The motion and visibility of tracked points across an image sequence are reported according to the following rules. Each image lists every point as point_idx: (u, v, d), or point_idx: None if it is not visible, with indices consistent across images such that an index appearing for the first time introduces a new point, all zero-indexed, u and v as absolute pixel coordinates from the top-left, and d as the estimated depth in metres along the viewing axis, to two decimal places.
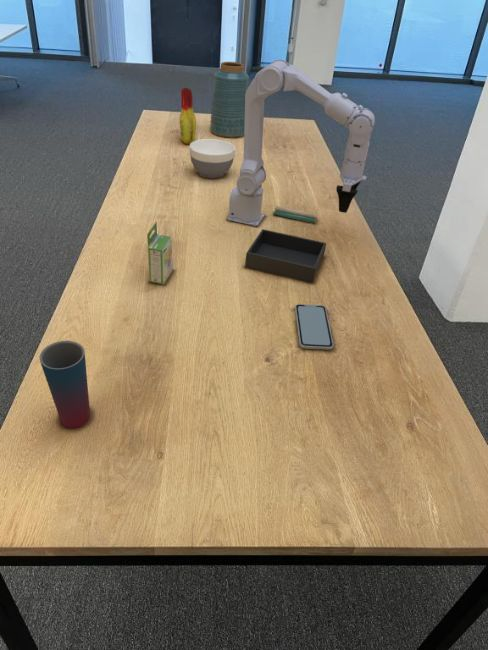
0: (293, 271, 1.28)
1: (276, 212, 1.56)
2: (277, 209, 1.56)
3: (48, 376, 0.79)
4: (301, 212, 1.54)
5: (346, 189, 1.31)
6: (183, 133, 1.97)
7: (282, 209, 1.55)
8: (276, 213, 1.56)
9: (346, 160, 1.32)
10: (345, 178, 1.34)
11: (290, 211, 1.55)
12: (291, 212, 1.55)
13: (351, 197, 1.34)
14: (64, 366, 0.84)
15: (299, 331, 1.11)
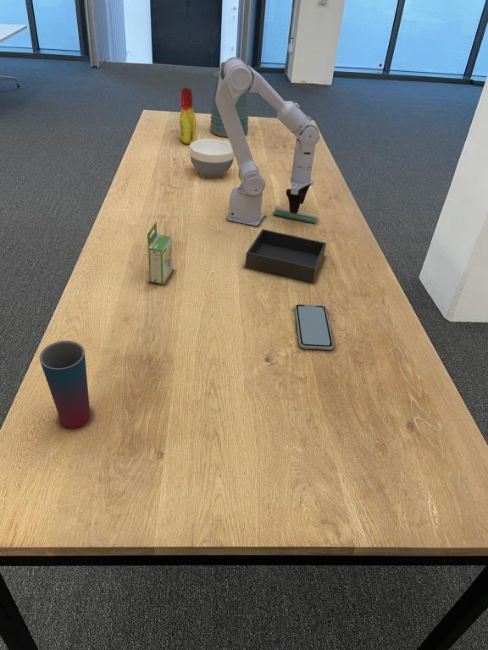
0: (293, 271, 1.28)
1: (276, 212, 1.56)
2: (277, 209, 1.56)
3: (48, 376, 0.79)
4: (301, 212, 1.54)
5: (294, 192, 1.44)
6: (183, 133, 1.97)
7: (282, 209, 1.55)
8: (276, 213, 1.56)
9: (294, 166, 1.45)
10: (294, 182, 1.47)
11: None
12: None
13: (299, 199, 1.46)
14: (64, 366, 0.84)
15: (299, 331, 1.11)
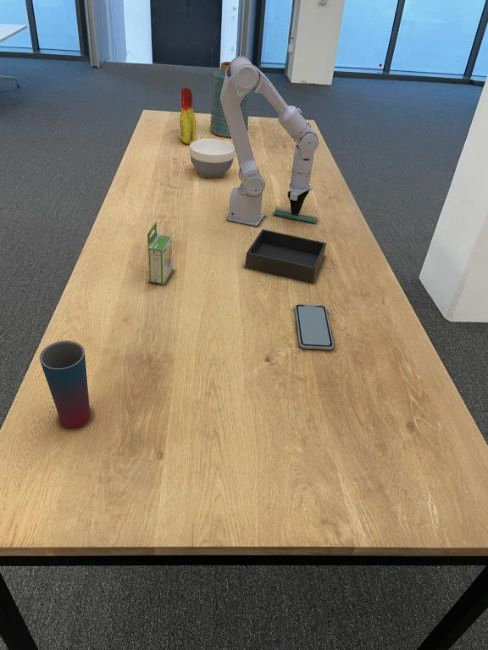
0: (293, 271, 1.28)
1: (276, 212, 1.56)
2: (277, 209, 1.56)
3: (48, 376, 0.79)
4: (301, 212, 1.54)
5: (293, 198, 1.45)
6: (183, 133, 1.97)
7: (282, 209, 1.55)
8: (276, 213, 1.56)
9: (293, 172, 1.46)
10: (293, 188, 1.48)
11: (290, 211, 1.55)
12: None
13: (301, 201, 1.50)
14: (64, 366, 0.84)
15: (299, 331, 1.11)
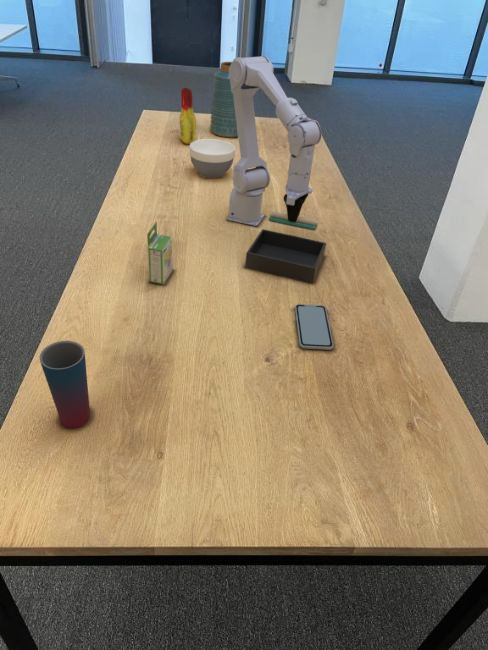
0: (293, 271, 1.28)
1: (271, 218, 1.37)
2: (272, 215, 1.37)
3: (48, 376, 0.79)
4: (299, 218, 1.35)
5: (290, 203, 1.26)
6: (183, 133, 1.97)
7: (278, 215, 1.36)
8: (271, 219, 1.37)
9: (290, 172, 1.27)
10: (290, 191, 1.29)
11: (287, 217, 1.36)
12: None
13: (299, 206, 1.31)
14: (64, 366, 0.84)
15: (299, 331, 1.11)
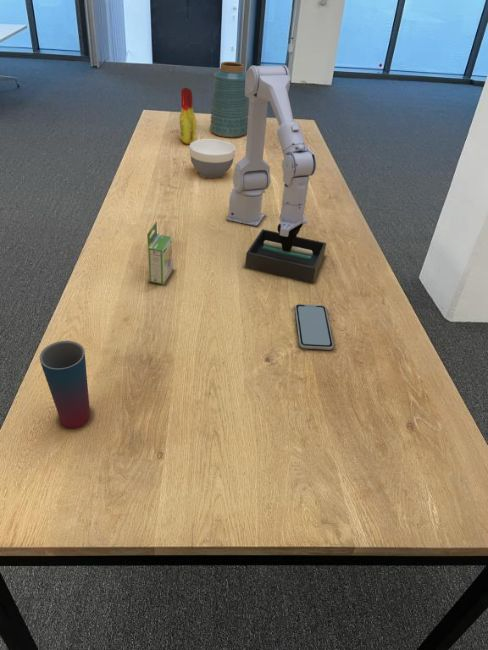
0: (293, 271, 1.28)
1: (265, 247, 1.33)
2: (266, 244, 1.33)
3: (48, 376, 0.79)
4: (294, 248, 1.31)
5: (283, 234, 1.22)
6: (183, 133, 1.97)
7: (272, 244, 1.32)
8: (265, 248, 1.33)
9: (284, 202, 1.23)
10: (284, 221, 1.25)
11: (281, 246, 1.32)
12: None
13: (293, 236, 1.27)
14: (64, 366, 0.84)
15: (299, 331, 1.11)
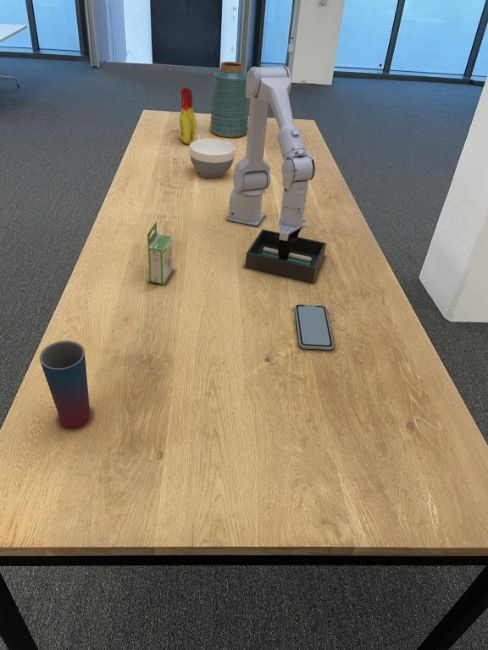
0: (293, 271, 1.28)
1: (264, 254, 1.34)
2: (265, 251, 1.34)
3: (48, 376, 0.79)
4: (293, 255, 1.32)
5: (283, 238, 1.23)
6: (183, 133, 1.97)
7: (271, 251, 1.34)
8: (264, 255, 1.34)
9: (283, 207, 1.24)
10: (283, 225, 1.26)
11: None
12: None
13: (290, 245, 1.25)
14: (64, 366, 0.84)
15: (299, 331, 1.11)
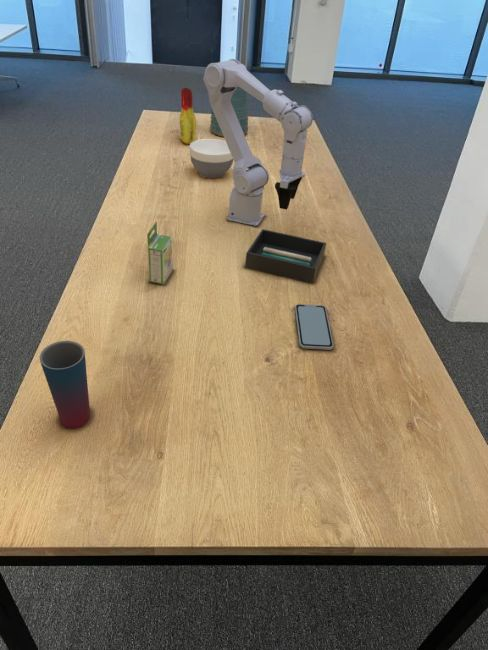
0: (293, 271, 1.28)
1: (264, 254, 1.34)
2: (265, 251, 1.34)
3: (48, 376, 0.79)
4: (293, 255, 1.32)
5: (283, 186, 1.32)
6: (183, 133, 1.97)
7: (271, 251, 1.34)
8: (264, 255, 1.34)
9: (284, 157, 1.33)
10: (284, 175, 1.35)
11: (280, 253, 1.33)
12: (282, 254, 1.33)
13: (289, 194, 1.34)
14: (64, 366, 0.84)
15: (299, 331, 1.11)
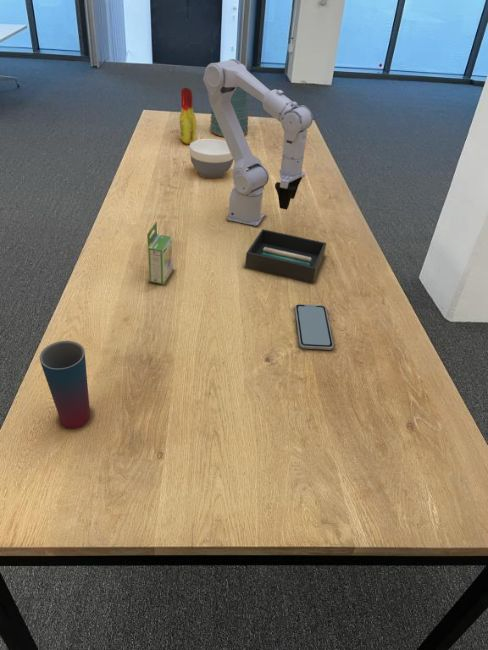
0: (293, 271, 1.28)
1: (264, 254, 1.34)
2: (265, 251, 1.34)
3: (48, 376, 0.79)
4: (293, 255, 1.32)
5: (283, 186, 1.32)
6: (183, 133, 1.97)
7: (271, 251, 1.34)
8: (264, 255, 1.34)
9: (284, 157, 1.33)
10: (284, 175, 1.35)
11: (280, 253, 1.33)
12: (282, 254, 1.33)
13: (290, 194, 1.34)
14: (64, 366, 0.84)
15: (299, 331, 1.11)
